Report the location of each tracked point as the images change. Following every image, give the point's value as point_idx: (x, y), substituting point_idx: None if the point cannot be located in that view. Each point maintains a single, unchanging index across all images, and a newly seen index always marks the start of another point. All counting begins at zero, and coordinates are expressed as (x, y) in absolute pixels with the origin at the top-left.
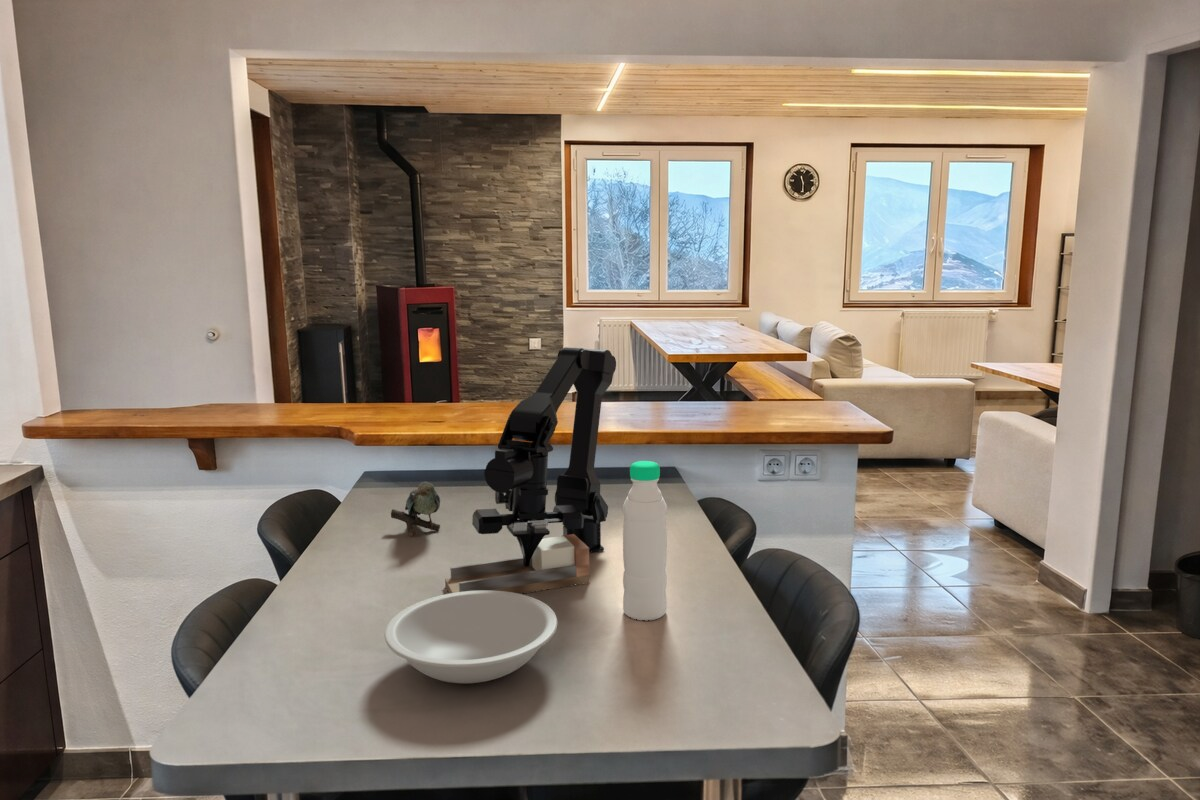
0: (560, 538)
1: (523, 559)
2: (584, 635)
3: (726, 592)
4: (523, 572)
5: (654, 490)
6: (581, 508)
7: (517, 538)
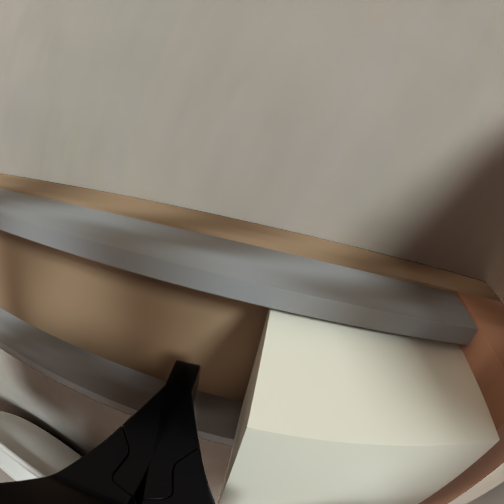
0: (445, 468)
1: (167, 381)
2: (218, 500)
3: (494, 481)
4: (205, 300)
5: None
6: None
7: (77, 467)
